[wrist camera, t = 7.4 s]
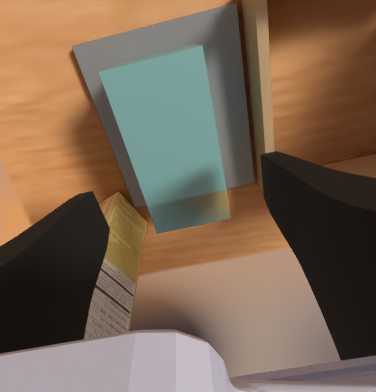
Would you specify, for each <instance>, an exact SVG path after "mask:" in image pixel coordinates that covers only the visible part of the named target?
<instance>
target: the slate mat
mask: <svg viewBox="0 0 376 392" xmlns="http://www.w3.org/2000/svg"><path fill="white" fill-rule="evenodd" d="M190 44H198V45H202V46H203V51H204V57H205V63H206V69H207V75H208V81H209V87H210V93H211V99H212V105H213V111H214V117H215V123H216V129H217V135H218V141H219V147H220V153H221V159H222V165H223V171H224V177H225V183H226V189H229V188H234V187H239V186H243V185H248V184H253V183H255V182H254V172H253V162H252V152H251V142H250V132H249V122H248V112H247V102H246V92H245V82H244V72H243V62H242V52H241V42H240V32H239V22H238V12H237V3H233V4H230V5H226V6H222V7H218V8H215V9H211V10H207V11H203V12H199V13H196V14H192V15H188V16H184V17H181V18H177V19H173V20H169V21H166V22H162V23H158V24H154V25H150V26H147V27H143V28H139V29H135V30H132V31H128V32H124V33H120V34H116V35H113V36H109V37H105V38H101V39H98V40H94V41H90V42H86V43H82V44H79V45H75V46H72V49H73V51H74V54H75V56H76V59H77V61H78V64H79V66H80V69H81V72H82V74H83V77H84V79H85V82H86V84H87V87H88V89H89V92H90V94H91V97H92V99H93V102H94V105H95V107H96V110H97V112H98V115H99V117H100V120H101V122H102V125H103V127H104V130H105V133H106V135H107V138H108V140H109V143H110V145H111V148H112V150H113V153H114V155H115V158H116V161H117V163H118V166H119V168H120V171H121V173H122V176H123V178H124V181H125V183H126V186H127V189H128V191H129V194H130V196H131V199H132V201H133V204H134V206H135V208H138V207H143V206H147V204H146V201H145V199H144V196H143V193H142V190H141V188H140V185H139V182H138V179H137V177H136V174H135V171H134V168H133V166H132V163H131V160H130V157H129V155H128V152H127V149H126V146H125V144H124V141H123V138H122V135H121V133H120V130H119V127H118V124H117V121H116V119H115V116H114V113H113V110H112V108H111V105H110V102H109V99H108V97H107V94H106V91H105V88H104V86H103V83H102V80H101V77H100V75H99V72H100V71H102V70H105V69H107V68H109V67H112V66H114V65H116V64H119V63H121V62H123V61H127V60H131V59H135V58H139V57H143V56H147V55H151V54H155V53H158V52H162V51H166V50H170V49H174V48H178V47H182V46H186V45H190Z"/></svg>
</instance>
